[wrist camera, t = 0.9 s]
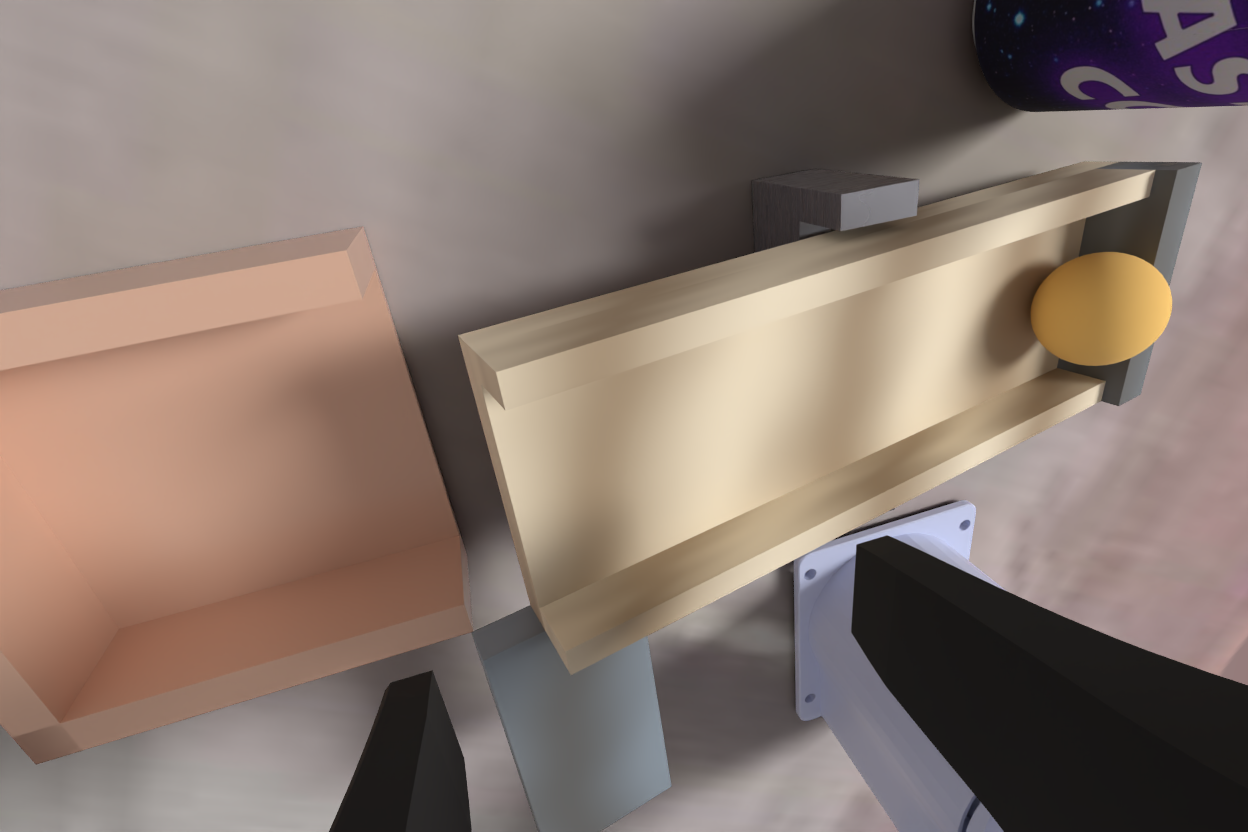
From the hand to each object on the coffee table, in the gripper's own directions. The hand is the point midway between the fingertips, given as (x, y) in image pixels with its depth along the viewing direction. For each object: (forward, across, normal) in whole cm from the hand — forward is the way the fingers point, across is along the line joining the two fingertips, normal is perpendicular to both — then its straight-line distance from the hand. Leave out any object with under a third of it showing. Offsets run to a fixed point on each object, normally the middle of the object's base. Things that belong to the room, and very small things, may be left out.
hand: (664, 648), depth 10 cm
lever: (+7, -7, +3) cm, 10 cm away
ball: (+6, -15, -1) cm, 16 cm away
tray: (+10, +9, -1) cm, 13 cm away
